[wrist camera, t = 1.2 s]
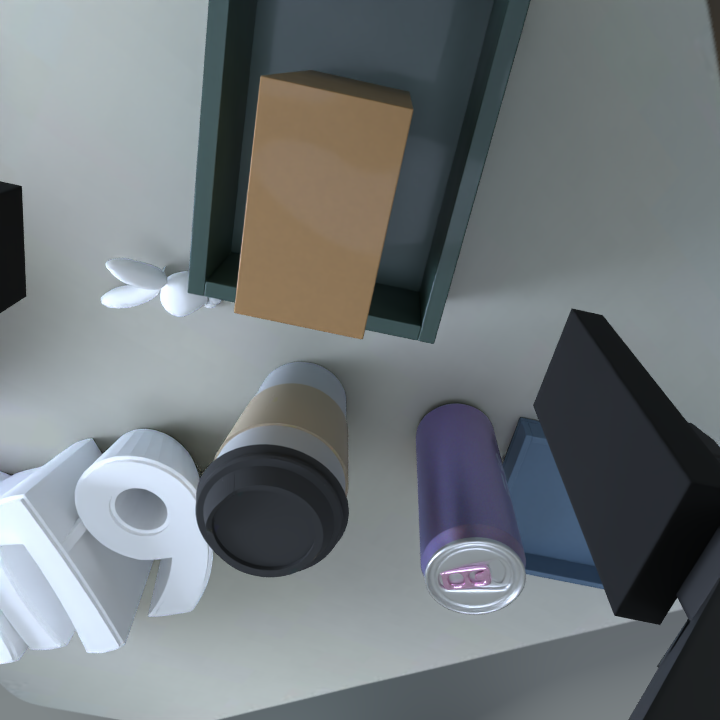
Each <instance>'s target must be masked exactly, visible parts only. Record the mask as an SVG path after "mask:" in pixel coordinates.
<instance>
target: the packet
mask: <svg viewBox="0 0 720 720" xmlns="http://www.w3.org/2000/svg"><path fill="white" fill-rule="evenodd" d="M412 115H413V106H412V101H411V97H410V93H409V92H408V91H404V90H399V89H395V88H390V87H386V86H381V85H377V84H372V83H368V82H363V81H359V80H354V79H350V78H345V77H341V76H336V75H332V74H327V73H322V72H318V71H313V70H306V71H297V72H289V73H280V74H271V75H263V76H261V77H260V85H259V94H258V103H257V112H256V121H255V130H254V139H253V148H252V157H251V165H250V174H249V183H248V192H247V201H246V210H245V219H244V228H243V237H242V246H241V254H240V263H239V272H238V281H237V290H236V299H235V308H234V313H237V314H242V315H247V316H252V317H257V318H261V319H266V320H271V321H276V322H281V323H286V324H290V325H295V326H300V327H305V328H310V329H315V330H319V331H324V332H329V333H334V334H339V335H344V336H348V337H353V338H358V339H363V336H364V332H365V327H366V323H367V318H368V314H369V309H370V305H371V300H372V296H373V291H374V287H375V282H376V278H377V273H378V268H379V264H380V259H381V255H382V250H383V246H384V241H385V237H386V232H387V228H388V223H389V219H390V214H391V210H392V205H393V201H394V196H395V192H396V187H397V183H398V178H399V174H400V169H401V165H402V160H403V156H404V151H405V146H406V142H407V137H408V133H409V128H410V124H411V119H412Z"/></svg>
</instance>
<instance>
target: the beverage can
mask: <svg viewBox="0 0 720 720" xmlns="http://www.w3.org/2000/svg"><path fill="white" fill-rule="evenodd" d="M416 453H417V478H418V504H419V529H420V555H421V570H422V573H423V576H424V578H425V584H426V587H427V589H428V591H429V593H430V595H431V596H432V597H433V598H434V600H435V601H437V602H438V603H439V604H440V605H442V606H443V607H445V608H447V609H449V610H452V611H455V612H458V613H463V614H474V615H475V614H486V613H491V612H494V611H497V610H500V609H502V608H504V607H506V606H508V605H509V604H511V603H512V602H513V601H514V600H515V599H516V598H517V597H518V596H519V595H520V593H521V592H522V590H523V588H524V585H525V580H526V572H525V567H526V557H525V553H524V549H523V545H522V541H521V537H520V533H519V529H518V525H517V521H516V517H515V513H514V509H513V505H512V501H511V497H510V493H509V489H508V485H507V481H506V477H505V473H504V469H503V465H502V461H501V457H500V453H499V449H498V445H497V441H496V437H495V433H494V429H493V426H492V424H491V422H490V420H489V419H488V417H487V416H486V415H485V414H484V413H482V412H481V411H480V410H478V409H476V408H474V407H472V406H469V405H465V404H457V403H454V404H446V405H443V406H440V407H437V408H436V409H434V410H432V411H431V412H429V413H428V414H427V415H426V416H425V417H424V418H423V419H422V421H421V422H420V424H419V426H418V428H417V432H416Z"/></svg>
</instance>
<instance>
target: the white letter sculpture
mask: <svg viewBox="0 0 720 720" xmlns="http://www.w3.org/2000/svg"><path fill="white" fill-rule="evenodd" d="M199 480H200V478H199V475H198V471H197V469H196V466H195V463H194V461H193V459H192V457H191V456H190V454H189V453H188V451H187V450H186V449H185V448H184V447H183V446H182V445H181V444H180V443H179V442H178V441H176V440H175V439H174V438H172V437H170V436H169V435H167V434H165V433H162V432H160V431H157V430H152V429H136V430H132V431H129V432H127V433H125V434H124V435H122V436H121V437H120V438H119V439H118V440H117V441H116V442H115V443H114V444H113V445H112V446H111V447H110V448H109V449H107V450H106V451H105V452H104V453H103V454H102V453H101V451H100V450H99V448H98V446H97V445H96V443H95V442H94V440H93V438H90V439H85V440H81V441H78V442H76V443H74V444H73V445H71V446H70V447H68V448H67V449H66V450H64V451H63V452H61V453H60V454H59V455H57V456H56V457H54V458H53V459H52V460H50V461H49V462H48V463H46V464H45V465H43V466H42V467H38V468H33V469H29V470H25V471H22V472H18V473H16V474H14V475H12V476H10V475H8V474H6V473H3V472H1V471H0V664H4V663H10V662H14V661H17V660H19V659H20V658H21V657H22V655H23V654H24V653H25V651H26V650H27V648H28V647H29V648H30V649H31V650H48V649H55V648H60V647H64V646H67V644H68V643H69V641H70V639H71V637H72V636H73V634H74V632H75V630H76V631H77V633H78V635H79V637H80V639H81V641H82V643H83V645H84V647H85V649H86V651H87V653H104V652H109V651H112V650H115V649H118V648H120V647H122V646H124V645H125V643H126V641H127V638H128V635H129V632H130V629H131V626H132V623H133V620H134V617H135V614H136V611H137V608H138V605H139V602H140V599H141V596H142V593H143V590H144V587H145V584H146V581H147V578H148V575H149V572H150V570H151V567H152V564H153V561H154V559H161V561H160V565H159V570H158V574H157V578H156V583H155V587H154V591H153V595H152V600H151V604H150V608H149V613H148V617H157V616H167V615H174V614H180V613H185V612H190V611H192V610H193V609H194V608H195V606H196V605H197V603H198V602H199V600H200V598H201V597H202V595H203V593H204V591H205V588H206V586H207V583H208V580H209V577H210V573H211V567H212V559H213V550H212V549H211V548H210V546H209V545H208V544H207V542H206V541H205V540H204V538H203V536H202V534H201V532H200V530H199V528H198V525H197V521H196V513H195V508H196V491H197V486H198V483H199Z"/></svg>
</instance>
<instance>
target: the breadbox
mask: <svg viewBox="0 0 720 720" xmlns="http://www.w3.org/2000/svg"><path fill="white" fill-rule="evenodd" d="M530 1H531V0H209V6H208V20H207V33H206V47H205V60H204V74H203V88H202V101H201V115H200V128H199V142H198V156H197V169H196V183H195V196H194V210H193V224H192V237H191V251H190V264H189V278H188V293H190V294H195V295H200V296H204V295H205V296H206V297H210V298H215V299H220V300H225V301H230V302H234V303H235V299H236V290H237V281H238V272H239V263H240V254H241V246H242V237H243V228H244V219H245V210H246V201H247V192H248V183H249V174H250V165H251V157H252V148H253V139H254V130H255V121H256V112H257V103H258V94H259V85H260V77H261V76H263V75H271V74H280V73H289V72H297V71H306V70H313V71H318V72H322V73H327V74H332V75H336V76H341V77H345V78H350V79H354V80H359V81H363V82H368V83H372V84H377V85H381V86H386V87H390V88H395V89H399V90H404V91H408V92H409V93H410V97H411V101H412V106H413V115H412V119H411V124H410V128H409V133H408V137H407V142H406V146H405V151H404V156H403V160H402V165H401V169H400V174H399V178H398V183H397V187H396V192H395V196H394V201H393V205H392V210H391V214H390V219H389V223H388V228H387V232H386V237H385V241H384V246H383V250H382V255H381V259H380V264H379V268H378V273H377V278H376V282H375V287H374V291H373V296H372V300H371V305H370V309H369V314H368V318H367V323H366V327H365V330H369V331H374V332H379V333H384V334H388V335H393V336H398V337H403V338H408V339H413V340H418V341H422V342H426V343H431V344H434V342H435V338H436V335H437V331H438V328H439V324H440V321H441V317H442V314H443V310H444V306H445V303H446V299H447V296H448V292H449V289H450V285H451V282H452V278H453V274H454V271H455V267H456V264H457V260H458V257H459V253H460V250H461V246H462V242H463V239H464V235H465V232H466V228H467V225H468V221H469V218H470V214H471V210H472V207H473V203H474V200H475V196H476V193H477V189H478V186H479V182H480V178H481V175H482V171H483V168H484V164H485V161H486V157H487V154H488V150H489V146H490V143H491V139H492V136H493V132H494V129H495V125H496V122H497V118H498V114H499V111H500V107H501V104H502V100H503V97H504V93H505V90H506V86H507V82H508V79H509V75H510V72H511V68H512V65H513V61H514V58H515V54H516V50H517V47H518V43H519V40H520V36H521V33H522V29H523V26H524V22H525V18H526V15H527V11H528V8H529V4H530Z"/></svg>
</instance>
